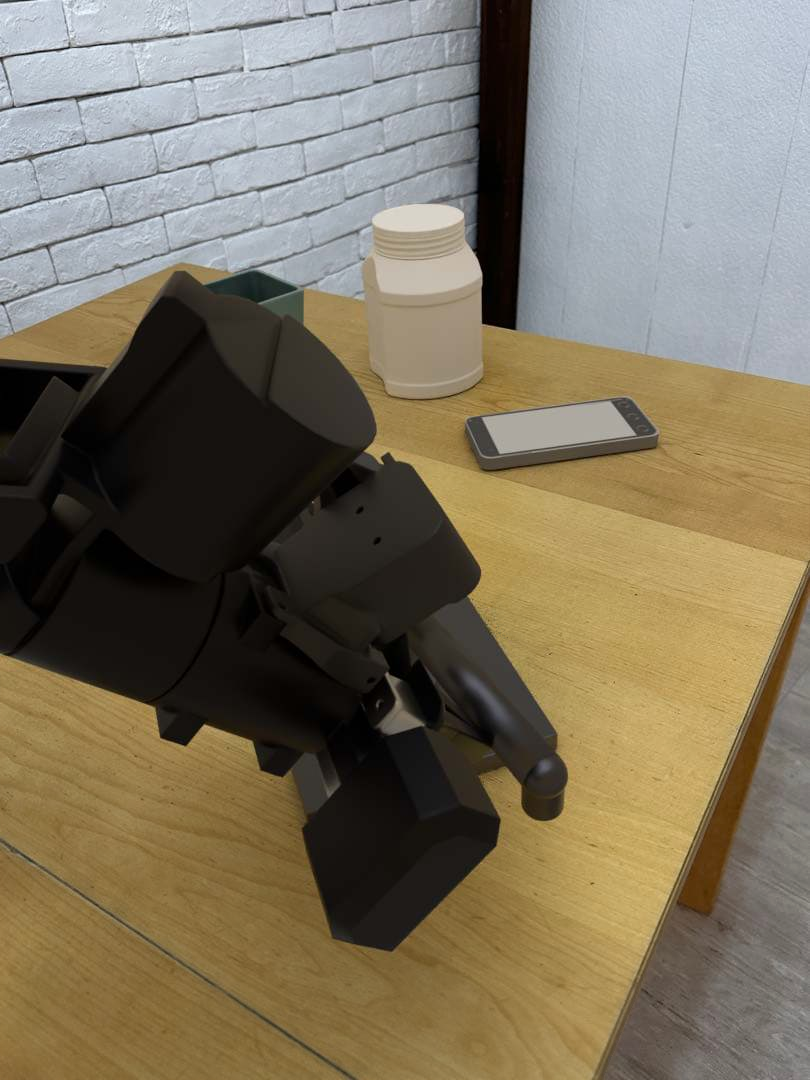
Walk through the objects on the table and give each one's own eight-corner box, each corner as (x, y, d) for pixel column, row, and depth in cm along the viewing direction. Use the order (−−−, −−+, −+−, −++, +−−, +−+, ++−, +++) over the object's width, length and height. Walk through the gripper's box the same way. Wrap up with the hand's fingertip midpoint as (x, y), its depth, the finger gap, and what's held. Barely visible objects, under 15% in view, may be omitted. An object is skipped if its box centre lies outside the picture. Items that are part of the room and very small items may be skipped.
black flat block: (309, 829, 46) (290, 732, 42) (254, 655, 57) (235, 564, 53) (557, 749, 49) (562, 651, 45) (460, 598, 60) (458, 509, 56)
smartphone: (662, 434, 74) (482, 459, 72) (660, 446, 74) (482, 471, 73) (629, 395, 80) (462, 417, 78) (628, 406, 80) (463, 428, 79)
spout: (341, 605, 50) (335, 564, 48) (401, 583, 51) (398, 541, 50) (518, 840, 37) (518, 794, 35) (592, 802, 38) (597, 756, 37)
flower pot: (317, 374, 90) (306, 286, 85) (242, 405, 85) (226, 314, 80) (267, 350, 95) (254, 266, 90) (195, 378, 91) (176, 291, 86)
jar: (363, 359, 92) (349, 208, 83) (451, 342, 94) (447, 193, 85) (396, 407, 83) (384, 243, 74) (493, 387, 85) (492, 226, 76)
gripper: (419, 613, 21) (750, 783, 30) (258, 329, 35) (513, 500, 44) (152, 920, 24) (528, 991, 33) (104, 539, 38) (373, 661, 47)
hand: (481, 748), depth 39 cm, fingers closed
